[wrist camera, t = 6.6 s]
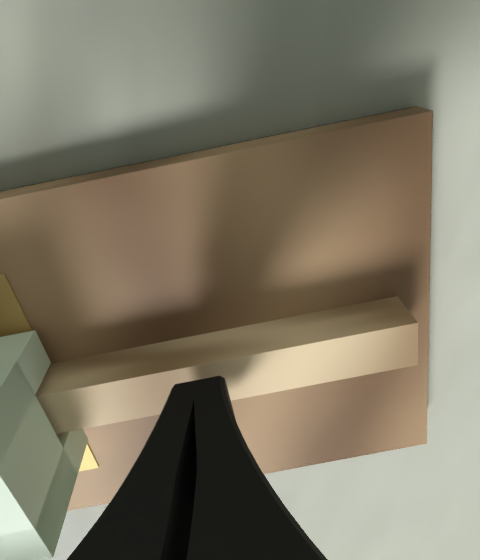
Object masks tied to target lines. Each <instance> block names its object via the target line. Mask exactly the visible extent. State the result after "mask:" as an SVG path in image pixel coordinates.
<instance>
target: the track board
mask: <svg viewBox="0 0 480 560" xmlns="http://www.w3.org/2000/svg"><path fill="white" fill-rule="evenodd" d="M432 130H433V111H431V110H428V109H424V108H420V107H411V108H406V109H401V110H397V111H392V112H387V113H382V114H377V115H372V116H367V117H362V118H357V119H353V120H348V121H343V122H338V123H333V124H328V125H323V126H318V127H313V128H309V129H304V130H299V131H294V132H289V133H284V134H279V135H274V136H269V137H265V138H260V139H255V140H250V141H245V142H240V143H235V144H230V145H226V146H221V147H216V148H211V149H206V150H201V151H196V152H191V153H186V154H182V155H177V156H172V157H167V158H162V159H157V160H152V161H147V162H142V163H138V164H133V165H128V166H123V167H118V168H113V169H108V170H103V171H98V172H94V173H89V174H84V175H79V176H74V177H69V178H64V179H59V180H54V181H50V182H45V183H40V184H35V185H30V186H25V187H20V188H15V189H11V190H6V191H1V192H0V337H3V336H9V335H14V334H19V333H24V332H29V331H34V330H35V331H36V333H37V335H38V337H39V339H40V341H41V343H42V345H43V347H44V349H45V351H46V353H47V355H48V357H49V360H50V362H51V364H50V366H49V368H48V370H47V372H46V374H45V376H44V378H43V380H42V382H41V384H40V386H39V388H38V390H37V392H36V394H35V395H36V397H37V399H38V401H39V403H40V405H41V406H42V408H43V410H44V412H45V414H46V416H47V418H48V420H49V422H50V423H51V425H52V427H53V429H54V431H55V433H56V434H60V433H65V432H70V431H75V430H81V429H83V430H84V432H85V434H86V436H87V438H88V442H87V446H86V449H85V452H84V456H83V459H82V462H81V466H80V469H79V472H78V476H77V479H76V482H75V486H74V489H73V492H72V496H71V499H70V502H69V506H68V509H67V511H69V510H74V509H79V508H85V507H90V506H95V505H101V504H106V503H110V502H111V500H112V499H113V497H114V496H115V494H116V493H117V491H118V490H119V488H120V486H121V485H122V483H123V482H124V480H125V478H126V477H127V475H128V473H129V472H130V470H131V468H132V467H133V465H134V463H135V462H136V460H137V458H138V456H139V455H140V453H141V451H142V449H143V447H144V445H145V444H146V442H147V440H148V438H149V436H150V434H151V432H152V430H153V428H154V426H155V424H156V422H157V420H158V418H159V416H160V414H161V412H162V410H163V407H164V405H165V403H166V401H167V399H168V396H169V394H170V392H171V389H172V388H173V386H174V385H175V384H179V383H184V382H189V381H194V380H199V379H204V378H210V377H215V376H222V377H223V378H225V381H226V384H227V388H228V392H229V396H230V400H231V404H232V407H233V411H234V415H235V419H236V422H237V425H238V427H239V429H240V431H241V434H242V436H243V438H244V440H245V442H246V444H247V446H248V448H249V449H250V451H251V453H252V455H253V457H254V459H255V460H256V462H257V464H258V466H259V467H260V469H261V471H262V472H263V474H266V473H271V472H277V471H282V470H287V469H293V468H298V467H303V466H309V465H314V464H319V463H325V462H330V461H335V460H341V459H346V458H351V457H357V456H362V455H368V454H373V453H378V452H384V451H389V450H394V449H400V448H405V447H410V446H416V445H421V444H426V443H427V398H428V345H429V291H430V237H431V184H432Z"/></svg>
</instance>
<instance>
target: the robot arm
mask: <svg viewBox="0 0 480 560" xmlns="http://www.w3.org/2000/svg"><path fill="white" fill-rule="evenodd" d="M67 560H327V559H326V557H325V556H324V555H323V554H322V553H321V552H320V550H319V549H318V548H317V547H316V546H315V544H314V543H313V542H312V541H311V540H310V538H309V537H308V536H307V535H306V533H305V532H304V531H303V529H302V528H301V527H300V525H299V524H298V523H297V521H296V520H295V519H294V518H293V516H292V515H291V514H290V512H289V511H288V510H287V508H286V507H285V506H284V504H283V503H282V501H281V500H280V498H279V497H278V495H277V494H276V493H275V491H274V490H273V488H272V487H271V485H270V483H269V482H268V480H267V479H266V477H265V476H264V474H263V472H262V471H261V469H260V467H259V466H258V464H257V462H256V460H255V459H254V457H253V455H252V453H251V451H250V449H249V448H248V446H247V444H246V442H245V440H244V438H243V436H242V434H241V431H240V429H239V427H238V425H237V422H236V419H235V415H234V411H233V407H232V404H231V400H230V396H229V392H228V388H227V384H226V381H225V378H223V377H222V376H215V377H210V378H204V379H199V380H194V381H189V382H184V383H179V384H175V385H174V386H173V388H172V389H171V392H170V394H169V396H168V399H167V401H166V403H165V405H164V407H163V410H162V412H161V414H160V416H159V418H158V420H157V422H156V424H155V426H154V428H153V430H152V432H151V434H150V436H149V438H148V440H147V442H146V444H145V445H144V447H143V449H142V451H141V453H140V455H139V456H138V458H137V460H136V462H135V463H134V465H133V467H132V468H131V470H130V472H129V473H128V475H127V477H126V478H125V480H124V482H123V483H122V485H121V486H120V488H119V490H118V491H117V493H116V494H115V496H114V497H113V499H112V500H111V502H110V503H109V505H108V506H107V507H106V509H105V510H104V512H103V513H102V515H101V516H100V517H99V519H98V520H97V522H96V523H95V524H94V526H93V527H92V528H91V529H90V531H89V532H88V533H87V535H86V536H85V537H84V539H83V540H82V541H81V543H80V544H79V545H78V546H77V548H76V549H75V550H74V551H73V553H72V554H71V555H70V556H69V558H68V559H67Z"/></svg>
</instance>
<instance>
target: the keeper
mask: <svg viewBox="0 0 480 560" xmlns="http://www.w3.org/2000/svg"><path fill="white" fill-rule="evenodd" d="M50 364H51V362H50V360H49V357H48V355H47V353H46V351H45V349H44V347H43V345H42V343H41V341H40V339H39V337H38V335H37V333H36V331H35V330H34V331H29V332H24V333H19V334H14V335H9V336H3V337H0V560H41V559H46V558H51V557H53V556H54V552H55V549H56V546H57V542H58V539H59V536H60V532H61V529H62V526H63V522H64V519H65V516H66V512H67V509H68V506H69V502H70V499H71V496H72V492H73V489H74V486H75V482H76V479H77V476H78V472H79V469H80V466H81V462H82V459H83V456H84V452H85V449H86V446H87V442H88V438H87V436H86V434H85V432H84V430H83V429H81V430H75V431H70V432H65V433H60V434H56V433H55V431H54V429H53V427H52V425H51V423H50V422H49V420H48V418H47V416H46V414H45V412H44V410H43V408H42V406H41V405H40V403H39V401H38V399H37V397H36V395H35V394H36V392H37V390H38V388H39V386H40V384H41V382H42V380H43V378H44V376H45V374H46V372H47V370H48V368H49V366H50Z"/></svg>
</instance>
